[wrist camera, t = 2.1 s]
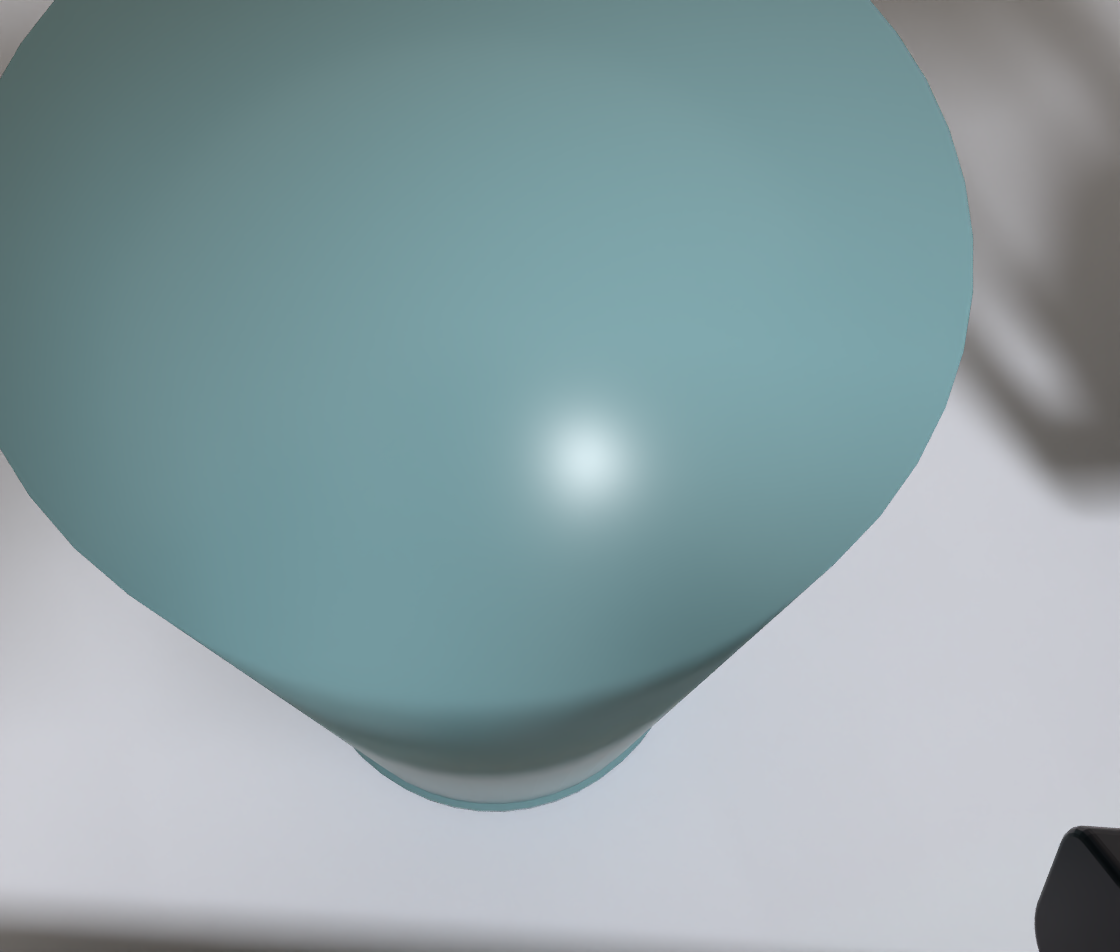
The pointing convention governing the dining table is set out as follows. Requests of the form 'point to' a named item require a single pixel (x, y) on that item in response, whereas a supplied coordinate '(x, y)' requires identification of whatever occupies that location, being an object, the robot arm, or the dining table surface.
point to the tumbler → (474, 343)
